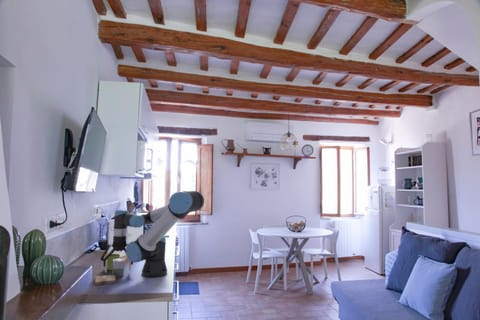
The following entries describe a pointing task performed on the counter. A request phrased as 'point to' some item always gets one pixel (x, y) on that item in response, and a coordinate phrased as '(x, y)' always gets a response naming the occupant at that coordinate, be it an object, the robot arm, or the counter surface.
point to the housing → (118, 267)
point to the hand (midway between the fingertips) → (118, 271)
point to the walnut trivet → (105, 279)
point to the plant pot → (111, 260)
